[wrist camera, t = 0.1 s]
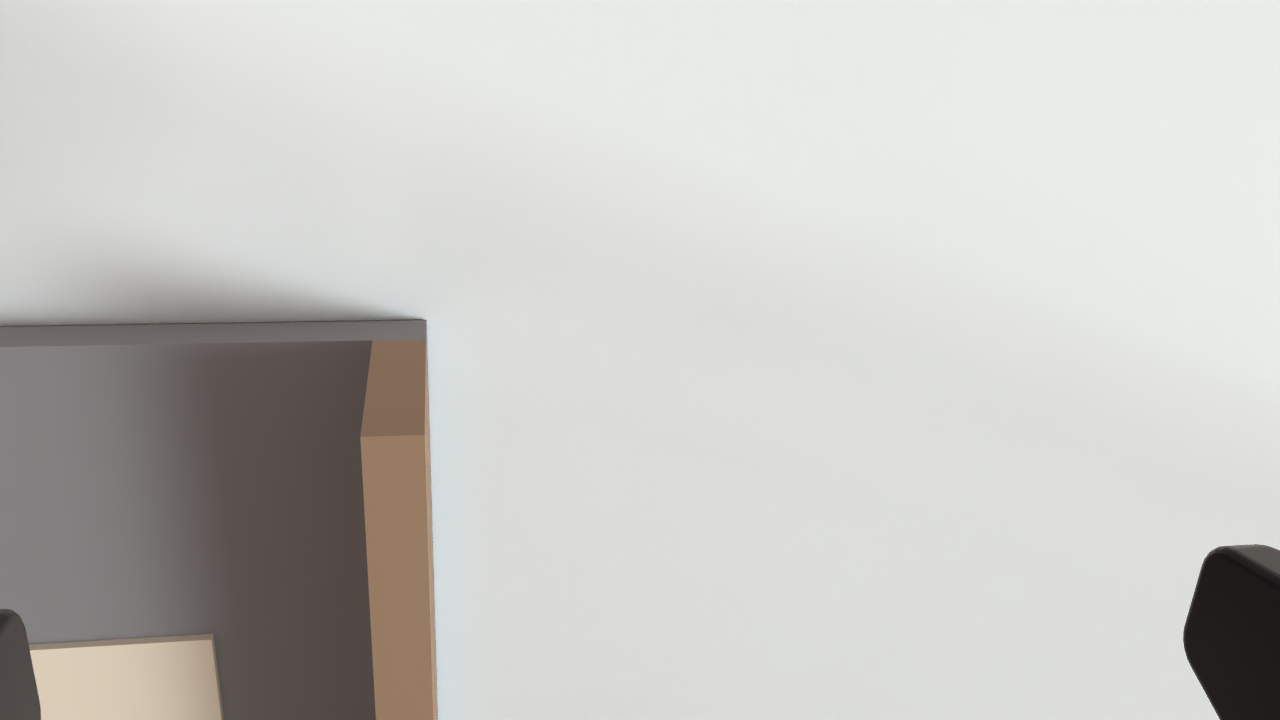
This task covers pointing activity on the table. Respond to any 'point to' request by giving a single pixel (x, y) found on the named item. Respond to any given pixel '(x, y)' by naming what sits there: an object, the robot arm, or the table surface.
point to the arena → (220, 519)
